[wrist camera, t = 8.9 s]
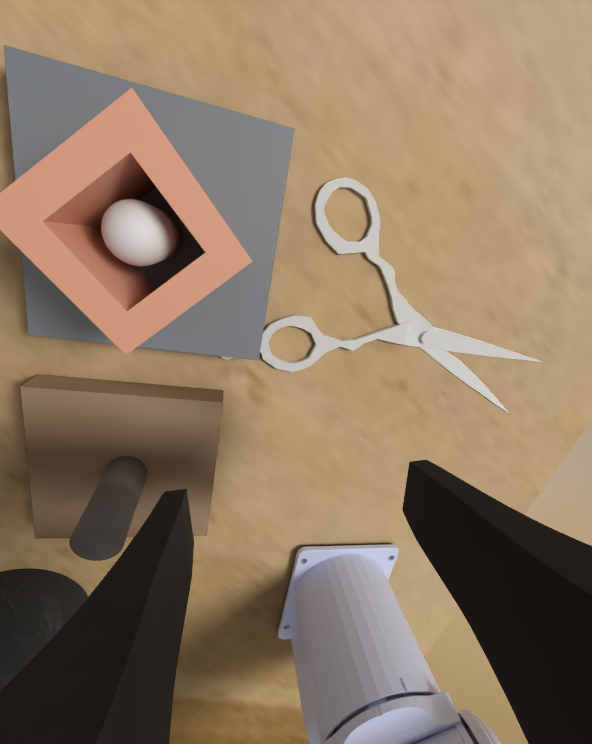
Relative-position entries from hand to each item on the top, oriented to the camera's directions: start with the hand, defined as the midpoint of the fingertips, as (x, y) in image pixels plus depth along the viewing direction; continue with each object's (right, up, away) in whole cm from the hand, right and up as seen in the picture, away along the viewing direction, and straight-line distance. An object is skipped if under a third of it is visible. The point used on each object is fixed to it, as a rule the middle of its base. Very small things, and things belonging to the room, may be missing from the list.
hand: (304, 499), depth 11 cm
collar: (-6, +10, +3) cm, 12 cm away
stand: (-9, -1, +8) cm, 13 cm away
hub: (-6, +10, +5) cm, 13 cm away
